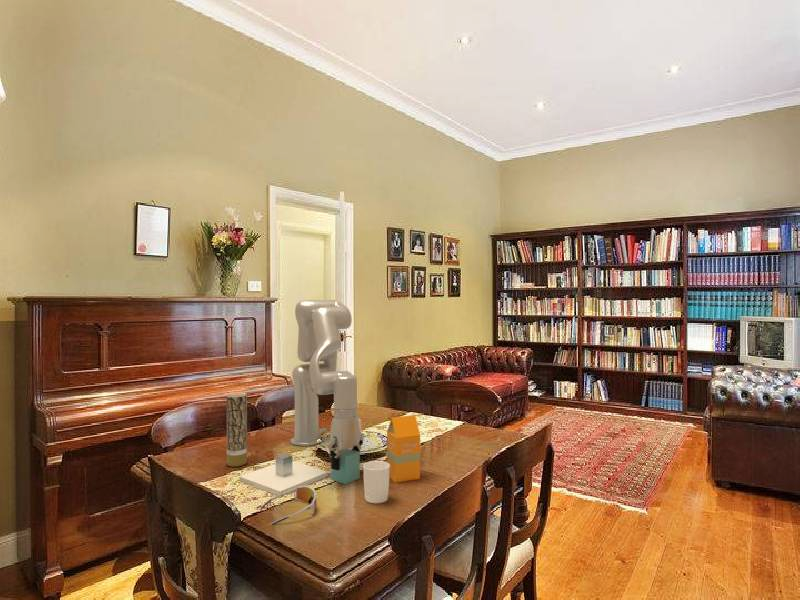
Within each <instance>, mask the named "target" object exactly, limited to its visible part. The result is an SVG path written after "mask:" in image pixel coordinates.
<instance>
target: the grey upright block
mask: <svg viewBox="0 0 800 600" xmlns="http://www.w3.org/2000/svg"><path fill="white" fill-rule="evenodd" d="M292 461H293V455H292V454H290V453H286V452H285V453H282V454H278V455H275V464H276V475H278V476H281V477H285V476H288V475H290V474H292Z"/></svg>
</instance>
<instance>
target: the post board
mask: <svg viewBox="0 0 800 600" xmlns="http://www.w3.org/2000/svg"><path fill="white" fill-rule="evenodd" d="M328 476H329V471H326V470H322V469H319V468H316V467H314V466H310V465H306V464H303V463H299V462H297V461H294V460H292V474H290V475H288V476H285V477H281V476H278V475H276V463H274V464H271V465H268V466H265V467H263V468H262V467H261V468H259V469H256V470H253V471H250V472H248V473H244V474H243V475H242V474H241V475H240V476H239V477H238V481H239V482H241V483H244V484H247V485H248V486H251V487H255V488H257V489H259V490H261V491H265V492H267V493H270V494H273V495H275V496H277V495H280V494H282V493H284V492H287V491H289V490H292V489H295V488H297V487H300V486H309V485H312V483H315V482H317V481H320V480H323V479H325V478H328Z"/></svg>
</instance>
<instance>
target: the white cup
mask: <svg viewBox="0 0 800 600" xmlns="http://www.w3.org/2000/svg"><path fill="white" fill-rule="evenodd" d="M362 468H363V469H362V470H363V471H362V472H363V487H364V488H363V489H364V500H365V501H366V502H367V503H370V504H382V503H385V502H387V501H388V499H389V487H390V477H389V473H390V464H389V463H387V461H385V460H370V461H368V462H365V463H363V465H362Z"/></svg>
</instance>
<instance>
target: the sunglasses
mask: <svg viewBox="0 0 800 600" xmlns="http://www.w3.org/2000/svg"><path fill="white" fill-rule="evenodd" d="M292 493H294V494H295V500H296V501H300V502H301V501H302V502H305V503H308V504H309V505H307V506H306V507H304V508H303V509H301V510H298V511H297V512H294V513H293V514H290V515H286V516H285V517H282V518H280V519H277V520H275V521H273V522H271V523H269V525H277V524H279V523H281V522H283V521H285V520H288V519H292V518H294V517H296V516H297V515H301V514H302V513H304V512H308V511H309V510H310V509H311V515H312V516H313V515H315V513H316V510H317V509H316V508H317V502H318V501H317V493H316V490H315V488H313V487H312V486H309V485H306V486H300V487H297V488H295V489H292V490H289V491H287V492H284V493H282V494H280V495H275V496H274V497H271V498H270V499H267V501H265V502H264V503H263V504H262V506H261V507H260V508H259V509H258V511H261V510H263V508H265V506H267V505H268V504H269V503H271V502H272V501H274V500H276V499H278V498H280V497H282V496H284V495H291V494H292Z"/></svg>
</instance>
